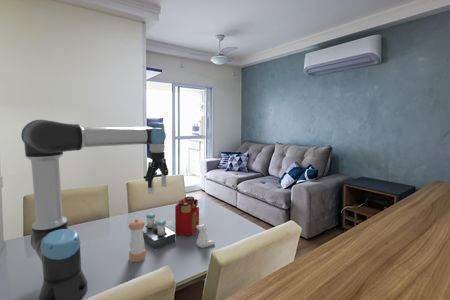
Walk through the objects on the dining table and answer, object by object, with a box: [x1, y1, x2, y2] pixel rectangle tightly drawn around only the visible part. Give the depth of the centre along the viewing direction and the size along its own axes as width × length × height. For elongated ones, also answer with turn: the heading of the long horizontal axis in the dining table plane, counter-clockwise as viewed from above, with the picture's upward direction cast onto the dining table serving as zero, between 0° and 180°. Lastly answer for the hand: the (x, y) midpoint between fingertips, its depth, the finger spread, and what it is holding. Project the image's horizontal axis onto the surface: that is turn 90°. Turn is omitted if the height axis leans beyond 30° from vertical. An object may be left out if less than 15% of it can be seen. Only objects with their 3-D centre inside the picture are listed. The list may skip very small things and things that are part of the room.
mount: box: [143, 221, 176, 251], centre depth 134 cm, size 12×20×5 cm, turn 44°
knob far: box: [145, 212, 156, 228], centre depth 137 cm, size 5×5×7 cm
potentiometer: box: [153, 220, 158, 231], centre depth 133 cm, size 3×3×5 cm
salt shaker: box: [128, 218, 146, 263], centre depth 114 cm, size 7×7×19 cm
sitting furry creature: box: [196, 223, 216, 249], centre depth 128 cm, size 10×9×12 cm
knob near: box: [156, 219, 167, 237], centre depth 129 cm, size 5×5×7 cm
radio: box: [174, 195, 200, 237], centre depth 144 cm, size 16×10×20 cm, turn 168°
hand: (157, 189), depth 132 cm, fingers open, 13 cm apart
